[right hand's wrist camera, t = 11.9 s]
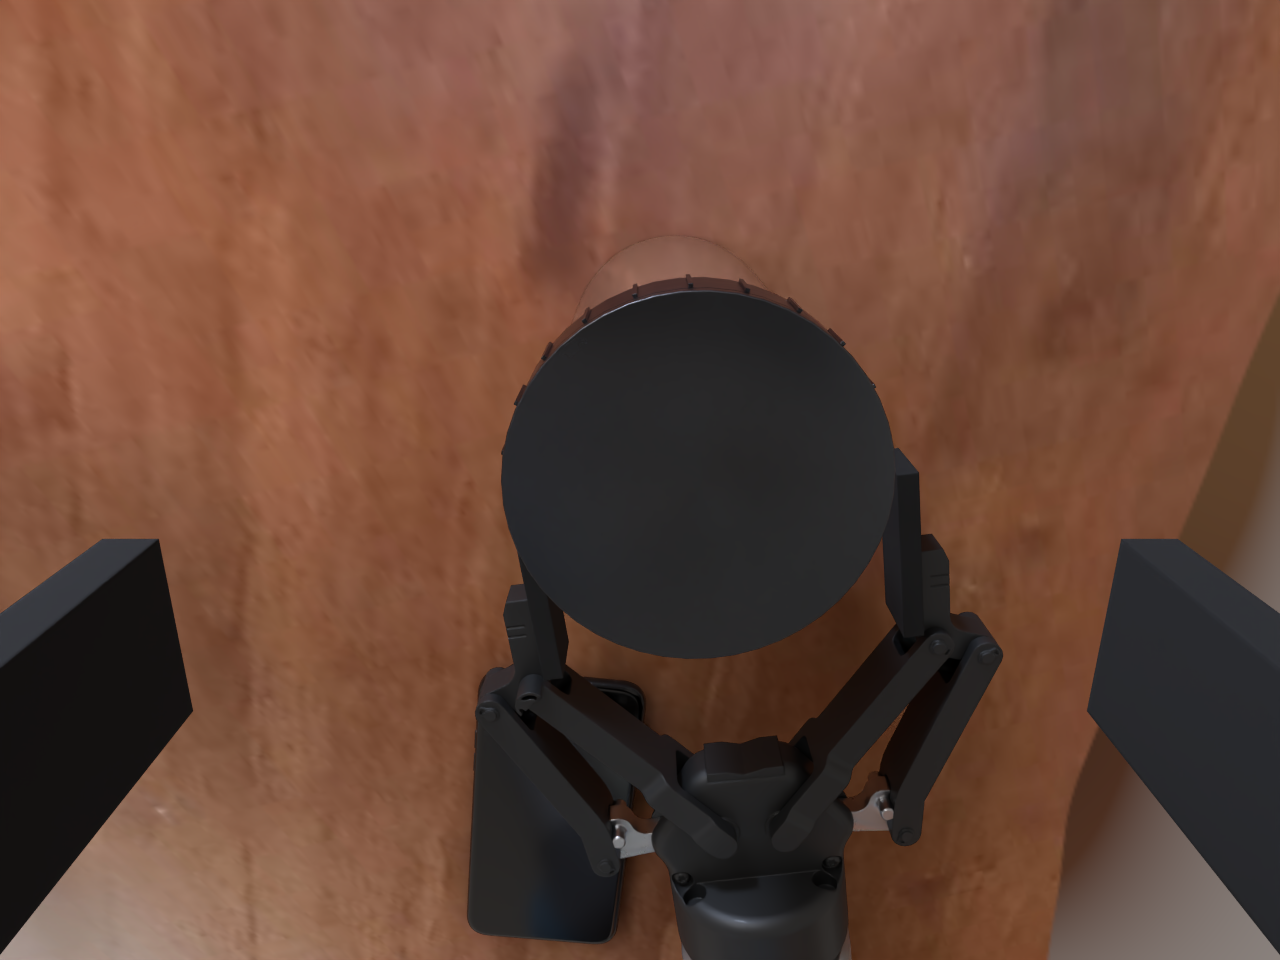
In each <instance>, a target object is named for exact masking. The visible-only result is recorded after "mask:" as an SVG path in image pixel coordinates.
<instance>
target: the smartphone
mask: <svg viewBox="0 0 1280 960" xmlns="http://www.w3.org/2000/svg"><path fill="white" fill-rule="evenodd" d="M485 677H486V675H485V676H484V677H483V679H482V680H481V682H480V685H479V689H478V700H479V697H480V693H481V690H482V687H483V683H484V680H485ZM583 678H584V679H586V680H587V681H588V682H590V683H591V684H592V685H594V686H595V687H596V688H598V689H599V690H600V691H601V692H603V693H604V694H605V695H607V696H608V697H609V698H611V699H612V700H613V701H615V702H616V703H617V704H619V705H620V706H621V707H623V708H624V709H625V710H627V711H628V712H629V713H631V714H632V715H633V716H635V717H636V718H637V719H638V720H640V721H641V722H642V723H644V718H645V710H646V699H645V695H644V693H643V691H642V689H641V688H640V687H639V686H637V685H636V684H634V683H631V682H628V681H622V680H612V679H602V678H592V677H583ZM477 704H478V702H477ZM476 720H477V718H476ZM566 738H567V739H568V740H569V741H570V742H571V743H572V745H573V746H574V747H575V748H576V749H577V751H578V752H579V753H580V754H581V755H582V756H583V758H584V759H585V760H586V761H587V762H588V763H589V765H590V766H591V767H592V768H593V769H594V770H595V772H596V773H597V774H598V775H599V776H600V778H601V779H602V780H603V782H604V783H605V784H606V786H607V787H608V789H609V791H610V793H611V795H612V797H613V800H614V801H615V800H617V799H622V800H624V801H625V802H626V804H627V807H629V808H630V809H631V811H633V804H634V796H635V788H636V787H635V786H633V785H632V784H631V783H629V782H628V781H626V780H625V779H624V778H622V777H621V776H620V775H618V774H617V773H616V772H614V771H613V770H611V769H610V768H609V767H607V766H606V765H605V764H603V763H602V762H600V761H599V760H598V759H596V758H595V757H594V756H592V755H591V754H590V753H588V752H587V751H585V750H584V749H583V748H581V747H580V746H579V745H577V744H576V743H575V742H573V741H572V740H570V739H569V738H568V737H566ZM473 770H474V783H473V803H472V823H471V843H470V863H469V883H468V903H467V919H468V923H469V925H470V927H471V928H472V929H473V930H474V931H476V932H478V933H480V934H484V935H490V936H502V937H514V938H526V939H538V940H550V941H562V942H574V943H586V944H602V943H606V942H608V941H609V940H611V939H612V938H613V937H614V935H615V933H616V931H617V927H618V921H619V913H620V905H621V897H622V889H623V882H624V874H625V866H626V858H627V857H626V858H621V859H620V869H619V871H618V873H616V874H615V875H613V876H611V877H602V876H599V875H597V874H596V873H594V871H593V869H592V867H591V864H590V862H589V859H588V856H587V853H586V850H585V847H584V844H583V842H582V839H581V837H580V836H579V835H578V834H577V832H576V831H575V830H574V829H573V828H572V827H571V826H570V825H569V823H568V822H567V821H566V820H565V819H564V818H563V817H562V816H561V814H560V813H559V812H558V811H557V810H556V809H555V808H554V807H553V805H552V804H551V803H550V802H549V801H548V800H547V799H546V797H545V796H544V795H543V794H542V793H541V792H540V791H539V790H538V788H537V787H536V786H535V785H534V784H533V783H532V782H531V781H530V779H529V778H528V777H527V776H526V775H525V774H524V773H523V771H522V770H521V769H520V768H519V767H518V766H517V765H516V764H515V762H514V761H513V760H512V759H511V758H510V757H509V756H508V755H507V753H506V752H505V751H504V750H503V749H502V748H501V747H500V745H499V744H498V743H497V742H496V741H495V740H494V739H493V738H492V736H491V735H490V734H489V733H488V732H487V731H486V730H485V729H484V727H483V726H482V725H481V724H480V723H479V722H478V720H477V722H476V731H475V753H474V768H473Z"/></svg>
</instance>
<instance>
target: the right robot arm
mask: <svg viewBox="0 0 1280 960" xmlns="http://www.w3.org/2000/svg"><path fill="white" fill-rule="evenodd" d="M192 712H193V708H192V703H191V698H190V693H189V688H188V683H187V678H186V673H185V668H184V663H183V658H182V653H181V648H180V643H179V638H178V633H177V628H176V623H175V618H174V613H173V608H172V603H171V598H170V593H169V588H168V583H167V578H166V573H165V568H164V563H163V558H162V553H161V548H160V543H159V539H102V540H100V541H99V542H98V543H96V544H95V545H94V546H92V547H91V548H89V549H88V550H87V551H85V552H84V553H83V554H81V555H80V556H79V557H77V558H76V559H74V560H73V561H72V562H70V563H69V564H68V565H66V566H65V567H63V568H62V569H61V570H59V571H58V572H57V573H55V574H54V575H52V576H51V577H50V578H48V579H47V580H46V581H44V582H43V583H42V584H40V585H39V586H37V587H36V588H35V589H33V590H32V591H31V592H29V593H28V594H26V595H25V596H24V597H22V598H21V599H20V600H18V601H17V602H16V603H14V604H13V605H11V606H10V607H9V608H7V609H6V610H5V611H3V612H2V613H0V954H1V953H2V952H3V950H4V949H5V948H6V947H7V945H8V944H9V943H10V942H11V940H12V939H13V938H14V937H15V935H16V934H17V933H18V932H19V930H20V929H21V928H22V926H23V925H24V924H25V923H26V921H27V920H28V919H29V918H30V916H31V915H32V914H33V913H34V911H35V910H36V909H37V908H38V906H39V905H40V904H41V902H42V901H43V900H44V899H45V897H46V896H47V895H48V894H49V892H50V891H51V890H52V889H53V887H54V886H55V885H56V884H57V882H58V881H59V880H60V878H61V877H62V876H63V875H64V873H65V872H66V871H67V870H68V868H69V867H70V866H71V865H72V863H73V862H74V861H75V859H76V858H77V857H78V856H79V854H80V853H81V852H82V851H83V849H84V848H85V847H86V846H87V844H88V843H89V842H90V841H91V839H92V838H93V837H94V835H95V834H96V833H97V832H98V830H99V829H100V828H101V827H102V825H103V824H104V823H105V822H106V820H107V819H108V818H109V817H110V815H111V814H112V813H113V811H114V810H115V809H116V808H117V806H118V805H119V804H120V803H121V801H122V800H123V799H124V798H125V796H126V795H127V794H128V793H129V791H130V790H131V789H132V787H133V786H134V785H135V784H136V782H137V781H138V780H139V779H140V777H141V776H142V775H143V774H144V772H145V771H146V770H147V769H148V767H149V766H150V765H151V763H152V762H153V761H154V760H155V758H156V757H157V756H158V755H159V753H160V752H161V751H162V750H163V748H164V747H165V746H166V745H167V743H168V742H169V741H170V739H171V738H172V737H173V736H174V734H175V733H176V732H177V731H178V729H179V728H180V727H181V726H182V724H183V723H184V722H185V721H186V719H187V718H188V717H189V715H190V714H191V713H192ZM1087 712H1088V713H1089V714H1090V715H1091V717H1092V718H1093V719H1094V721H1095V722H1096V723H1097V724H1098V726H1099V727H1100V728H1101V729H1102V731H1103V732H1104V733H1105V734H1106V736H1107V737H1108V738H1109V739H1110V741H1111V742H1112V743H1113V745H1114V746H1115V747H1116V748H1117V750H1118V751H1119V752H1120V753H1121V755H1122V756H1123V757H1124V758H1125V760H1126V761H1127V762H1128V763H1129V765H1130V766H1131V767H1132V769H1133V770H1134V771H1135V772H1136V774H1137V775H1138V776H1139V777H1140V779H1141V780H1142V781H1143V782H1144V784H1145V785H1146V786H1147V787H1148V789H1149V790H1150V791H1151V793H1152V794H1153V795H1154V796H1155V798H1156V799H1157V800H1158V801H1159V803H1160V804H1161V805H1162V806H1163V808H1164V809H1165V810H1166V811H1167V813H1168V814H1169V815H1170V817H1171V818H1172V819H1173V820H1174V822H1175V823H1176V824H1177V825H1178V827H1179V828H1180V829H1181V830H1182V832H1183V833H1184V834H1185V835H1186V837H1187V838H1188V839H1189V841H1190V842H1191V843H1192V844H1193V846H1194V847H1195V848H1196V849H1197V851H1198V852H1199V853H1200V854H1201V856H1202V857H1203V858H1204V859H1205V861H1206V862H1207V863H1208V865H1209V866H1210V867H1211V868H1212V870H1213V871H1214V872H1215V873H1216V875H1217V876H1218V877H1219V878H1220V880H1221V881H1222V882H1223V883H1224V885H1225V886H1226V887H1227V889H1228V890H1229V891H1230V892H1231V894H1232V895H1233V896H1234V897H1235V899H1236V900H1237V901H1238V902H1239V904H1240V905H1241V906H1242V908H1243V909H1244V910H1245V911H1246V913H1247V914H1248V915H1249V916H1250V918H1251V919H1252V920H1253V921H1254V923H1255V924H1256V925H1257V926H1258V928H1259V929H1260V930H1261V931H1262V933H1263V934H1264V935H1265V937H1266V938H1267V939H1268V940H1269V941H1270V943H1271V944H1272V945H1273V947H1274V948H1275V949H1276V950H1277V952H1278V953H1279V954H1280V613H1278V612H1277V611H1275V610H1274V609H1273V608H1271V607H1270V606H1268V605H1267V604H1266V603H1264V602H1263V601H1262V600H1260V599H1259V598H1258V597H1256V596H1255V595H1254V594H1252V593H1251V592H1249V591H1248V590H1247V589H1245V588H1244V587H1243V586H1241V585H1240V584H1238V583H1237V582H1236V581H1234V580H1233V579H1232V578H1230V577H1229V576H1228V575H1226V574H1225V573H1223V572H1222V571H1221V570H1219V569H1218V568H1217V567H1215V566H1214V565H1212V564H1211V563H1210V562H1208V561H1207V560H1206V559H1204V558H1203V557H1201V556H1200V555H1199V554H1197V553H1196V552H1195V551H1193V550H1192V549H1191V548H1189V547H1188V546H1186V545H1185V544H1184V543H1182V542H1181V541H1180V540H1178V539H1121V543H1120V548H1119V553H1118V558H1117V563H1116V568H1115V573H1114V578H1113V583H1112V588H1111V593H1110V598H1109V603H1108V608H1107V613H1106V618H1105V623H1104V628H1103V633H1102V638H1101V643H1100V648H1099V653H1098V658H1097V663H1096V668H1095V673H1094V678H1093V683H1092V688H1091V693H1090V698H1089V703H1088V708H1087Z"/></svg>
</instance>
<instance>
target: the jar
mask: <svg viewBox="0 0 1280 960" xmlns="http://www.w3.org/2000/svg"><path fill="white" fill-rule="evenodd" d="M686 274H690V275H691V277H710V278H720V279H729V280H733V281H739V278H740V279H744V281H745V282H746V284H750V285H754V286H757V287H759V288H762V289H764V290H767V291H769V290H768V289H767V288H766V286H765V285H764V284H763V283H762V282H761V281H760V279H759V278H758V277H757V276H756V275H755V273H754V272H753V271H752V270H751V269H750V268H749V267H748V266H747V265H746V264H745V263H744V262H743V261H742V260H741V259H740V258H738V257H737V256H736V255H734V254H733V253H732V252H730V251H728V250H727V249H725V248H723V247H721V246H720V245H717V244H715V243H712V242H709V241H707V240H703V239H699V238H695V237H688V236H663V237H657V238H652V239H648V240H645V241H642V242H639V243H637V244H634V245H632V246H630V247H628V248H626V249H624V250H623V251H621V252H620V253H618V254H617V255H615V256H614V257H613V258H611V259H610V260H609V261H608V262H607V263H605V264H604V265H603V266H602V268H601V269H600V270H599V271H598V272H597V273H596V274H595V276H594V277H593V278H592V280H591V281H590V283H589V284H588V286H587V288H586V290H585V292H584V294H583V295H582V297H581V300H580V303H579V305H578V308H577V310H576V313H575V315H574V318H573V320H572V323H571V324H573V323H574V322H575V321H576V320H577V319H579V318H580V317H581V316H582V315H583V314H584V312H585V309H586V308H588V307H589V308H590V309H592V308H594V307H596V306H597V305H599V304H600V303H602V302H604V301H605V300H607V299H609V298H611V297H613V296H616V295H618V294H620V293H622V292H624V291H627V290H629V289H632V288H633V285H634V284H637V285H638V286H641V285H645V284H648V283H651V282H655V281H662V280H668V279H674V278H685V277H686ZM769 292H770V291H769Z"/></svg>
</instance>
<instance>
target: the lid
mask: <svg viewBox="0 0 1280 960" xmlns="http://www.w3.org/2000/svg"><path fill="white" fill-rule="evenodd" d="M845 344H846V343H845V342H844V341H843V340H842V339H841V338H840V337H839V336H838V335H837V334H836V333H835V332H834V331H833V330H832V329H831V328H830V329H829V330H828V331H827V330H826V329H825V328H824V327H823V326H822V325H821V324H820V323H819V322H818V321H817V320H816V319H814V318H813V317H812V316H810V315H809V314H808V313H806V312H805V311H804V310H803V309H801V307H800V306H799V305H798V304H797V303H796V302H795V301H794V300H793V299H792V298H790V297H789V298H788V299H787V300H786V299H784V298H782V297H781V296H779V295H777V294H774V293H772V292H769V291H767V290H764V289H762V288H759V287H757V286H754V285H750V284H746V282H745V281H744V279H740V278H739V281H733V280H729V279H720V278H710V277H691V275H690V274H686V277H685V278H674V279H668V280H662V281H655V282H651V283H648V284H645V285H641V286H638V285H637V284H634V285H633V288H632V289H629V290H627V291H624V292H622V293H620V294H618V295H616V296H613V297H611V298H609V299H607V300H605V301H604V302H602V303H600V304H599V305H597V306H596V307H594V308H592V309H590V308H589V307H588V308H586V309H585V312H584V314H583V315H582V316H581V317H580V318H579V319H577V320H576V321H575V322H574V323H573V324H571V325H570V326H569V327H568V328H567V329H566V330H565V331H564V332H563V333H562V334H561V335H560V336H559V337H558V338H557V339H556V341H555V342H554V343H553V344H552V343H551V342H549V343H548V345H547V347H546V349H545V351H544V353H543V355H542V357H541V360H540V362H539V363H538V365H537V366H536V368H535V370H534V372H533V374H532V376H531V378H530V380H529V382H528V384H527V386H526V385H523V386H522V388H521V390H520V392H519V394H518V396H517V398H516V400H515V403H514V405H516V406H517V407H516V409H515V411H514V414H513V417H512V420H511V423H510V426H509V429H508V432H507V436H506V441H505V445H504V447H503V449H502V452H501V455H503V456H502V474H501V486H502V497H503V506H504V511H505V515H506V519H507V524H508V528H509V531H510V533H511V536H512V539H513V541H514V544H515V546H516V549H517V551H518V553H519V555H520V557H521V559H522V560H523V562H524V564H525V566H526V568H527V570H528V571H529V573H530V574H531V575H532V577H533V578H534V579H535V581H536V582H537V584H538V585H539V586H540V588H541V589H542V590H543V591H544V592H545V593H546V594H547V596H548V597H549V598H550V599H551V600H552V601H553V602H554V603H555V604H556V605H557V606H558V607H559V608H560V609H561V610H563V611H564V612H565V613H566V614H568V615H569V616H570V617H571V618H573V619H574V620H575V621H576V622H578V623H579V624H581V625H582V626H584V627H586V628H587V629H589V630H590V631H592V632H594V633H595V634H597V635H599V636H601V637H603V638H605V639H608V640H610V641H612V642H614V643H616V644H618V645H621V646H624V647H627V648H630V649H633V650H636V651H639V652H644V653H648V654H653V655H658V656H663V657H673V658H684V659H698V658H716V657H723V656H731V655H736V654H740V653H744V652H748V651H752V650H756V649H759V648H762V647H764V646H767V645H770V644H772V643H775V642H778V641H780V640H782V639H784V638H786V637H788V636H790V635H792V634H794V633H796V632H798V631H799V630H801V629H803V628H804V627H806V626H807V625H809V624H810V623H812V622H813V621H815V620H816V619H818V618H819V617H821V616H822V615H823V614H824V613H825V612H826V611H828V610H829V609H830V608H831V607H832V606H833V605H835V604H836V603H837V602H838V601H839V600H840V599H841V598H842V597H843V596H844V595H845V593H846V592H847V591H848V590H849V589H850V588H851V587H852V586H853V585H854V583H855V582H856V581H857V579H858V578H859V577H860V575H861V574H862V572H863V571H864V569H865V568H866V567H867V565H868V564H869V562H870V560H871V558H872V556H873V554H874V552H875V550H876V549H877V547H878V545H879V543H880V541H881V538H882V535H883V532H884V530H885V527H886V524H887V521H888V519H889V514H890V509H891V505H892V500H893V495H894V482H895V458H894V446H893V441H892V435H891V432H890V427H889V422H888V420H887V417H886V414H885V411H884V409H883V406H882V403H881V401H880V398H879V396H878V395H877V393H876V391H875V389H874V388H876V386H875V384H874V383H873V382H872V381H871V380H870V379H869V378H868V376H867V375H866V374H865V372H864V371H863V370H862V368H861V367H860V366H859V364H858V363H857V362H856V360H855V359H854V358H853V356H852V355H851V354H850V353H849V352H848V351H847V350H846V349H845V348H844V347H843V346H844V345H845Z"/></svg>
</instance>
